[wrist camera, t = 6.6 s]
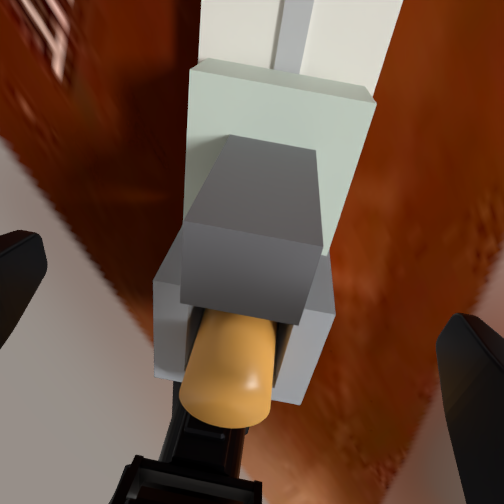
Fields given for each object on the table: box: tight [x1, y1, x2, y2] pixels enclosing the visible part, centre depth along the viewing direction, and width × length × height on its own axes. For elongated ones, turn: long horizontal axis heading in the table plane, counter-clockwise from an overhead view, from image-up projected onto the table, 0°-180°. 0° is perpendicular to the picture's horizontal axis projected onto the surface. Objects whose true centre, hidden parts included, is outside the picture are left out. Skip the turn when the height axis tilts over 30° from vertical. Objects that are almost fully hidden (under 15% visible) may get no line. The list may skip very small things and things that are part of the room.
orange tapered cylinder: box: [179, 308, 277, 428], centre depth 16 cm, size 3×3×6 cm
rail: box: [153, 0, 403, 405], centre depth 13 cm, size 26×7×7 cm, turn 172°
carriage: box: [180, 58, 377, 326], centre depth 12 cm, size 6×6×9 cm
